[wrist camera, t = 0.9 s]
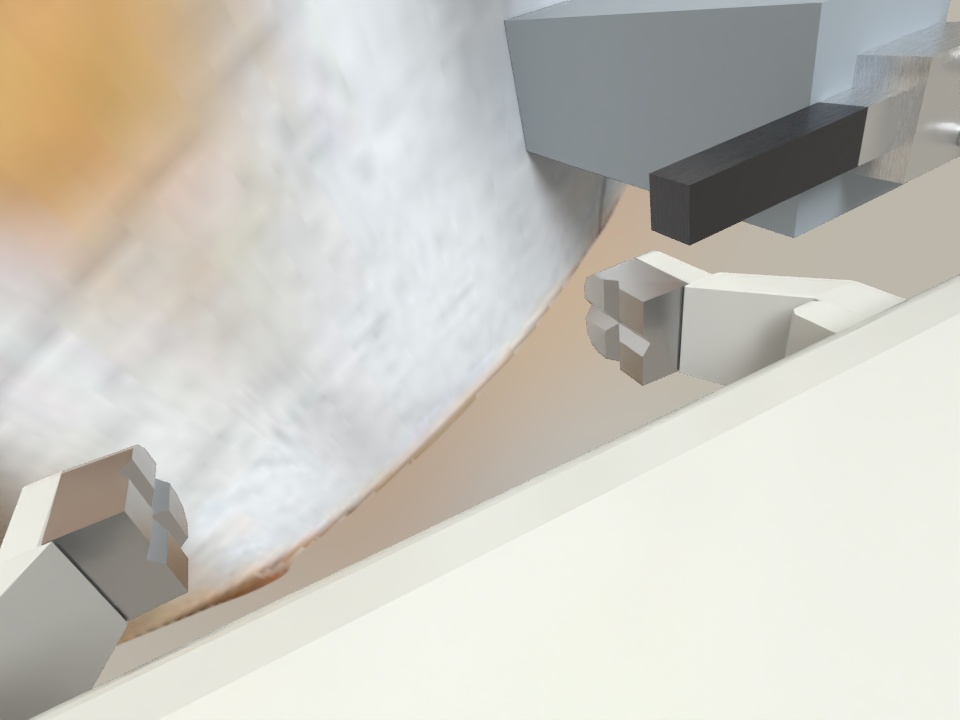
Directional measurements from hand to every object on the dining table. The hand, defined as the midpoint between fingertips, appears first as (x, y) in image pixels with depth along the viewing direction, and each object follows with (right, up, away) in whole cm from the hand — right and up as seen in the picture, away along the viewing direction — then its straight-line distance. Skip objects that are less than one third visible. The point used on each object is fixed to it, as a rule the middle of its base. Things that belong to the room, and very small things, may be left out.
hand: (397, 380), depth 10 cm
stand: (+8, +24, +36) cm, 45 cm away
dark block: (+15, +10, +14) cm, 23 cm away
